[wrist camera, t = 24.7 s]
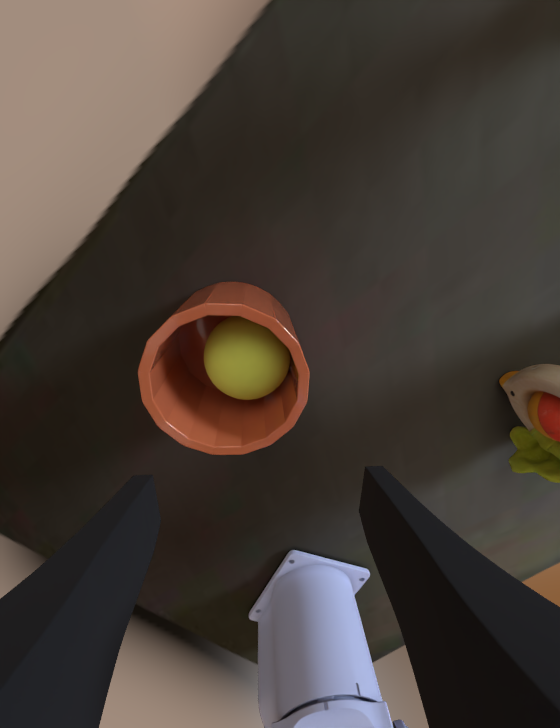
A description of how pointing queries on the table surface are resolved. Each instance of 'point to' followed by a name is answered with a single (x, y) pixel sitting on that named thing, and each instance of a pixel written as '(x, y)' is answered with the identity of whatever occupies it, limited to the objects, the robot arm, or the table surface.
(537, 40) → the table surface
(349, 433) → the table surface
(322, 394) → the table surface
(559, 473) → the bird rattle
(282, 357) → the ball
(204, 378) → the pot
